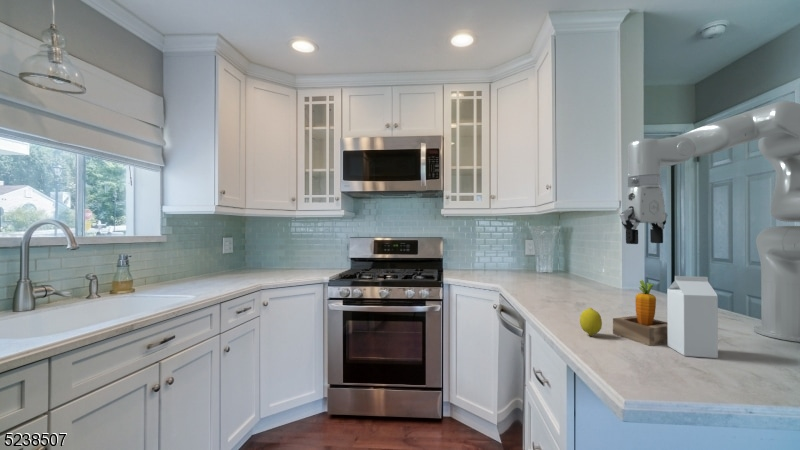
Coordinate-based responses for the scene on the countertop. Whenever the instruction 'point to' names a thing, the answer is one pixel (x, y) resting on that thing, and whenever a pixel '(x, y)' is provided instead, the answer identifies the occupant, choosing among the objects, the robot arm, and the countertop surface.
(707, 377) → the countertop surface
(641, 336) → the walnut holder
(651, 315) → the carrot
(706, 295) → the milk carton
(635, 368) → the countertop surface
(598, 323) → the lemon
